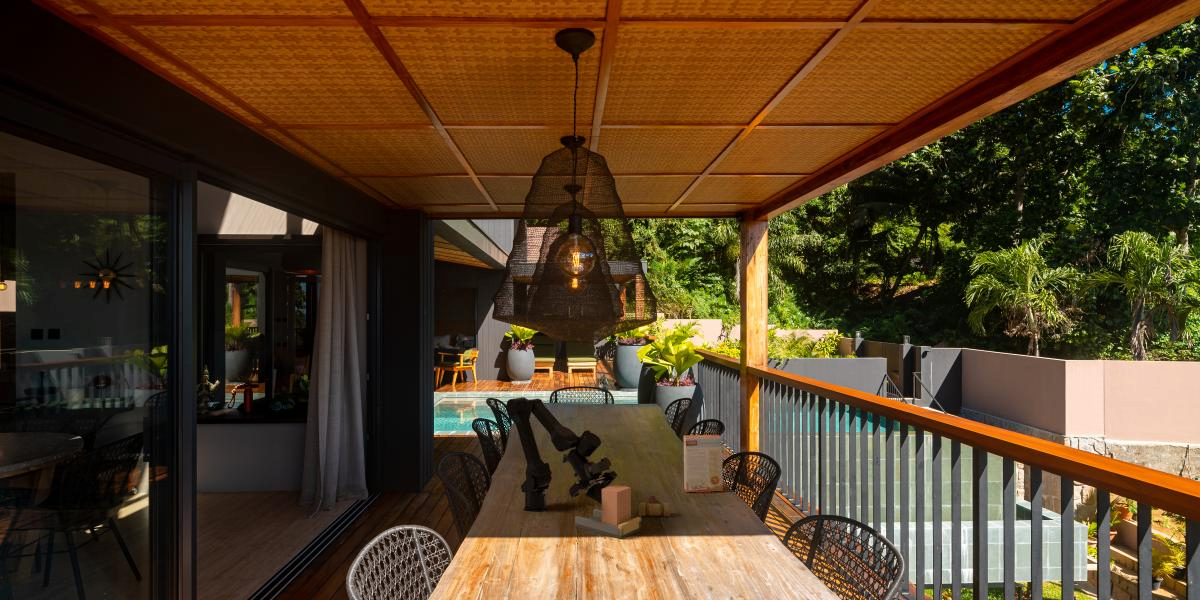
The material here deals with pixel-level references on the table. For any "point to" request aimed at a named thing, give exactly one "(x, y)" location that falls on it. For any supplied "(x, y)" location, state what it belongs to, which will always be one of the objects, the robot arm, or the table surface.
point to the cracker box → (703, 463)
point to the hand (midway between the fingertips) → (608, 505)
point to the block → (616, 504)
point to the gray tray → (608, 525)
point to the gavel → (654, 508)
